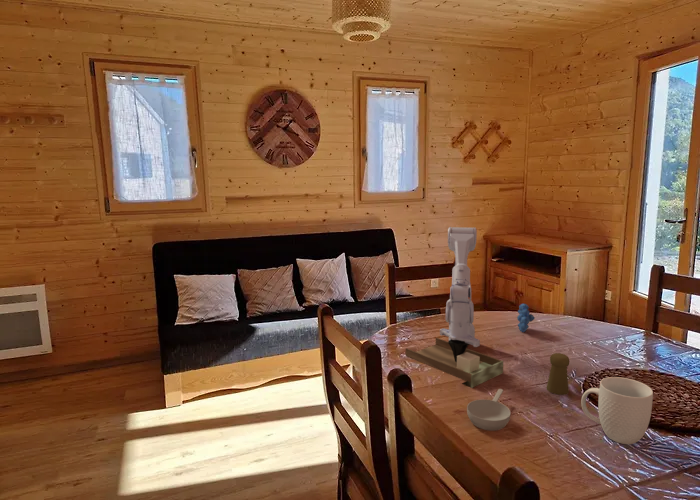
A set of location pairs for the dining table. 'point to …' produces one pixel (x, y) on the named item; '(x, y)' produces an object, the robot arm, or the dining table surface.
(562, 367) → the cork
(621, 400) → the mug
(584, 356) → the dining table surface
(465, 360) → the cream block
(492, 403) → the saucepan
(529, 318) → the grapes
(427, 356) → the olive long flat tray
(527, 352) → the dining table surface
